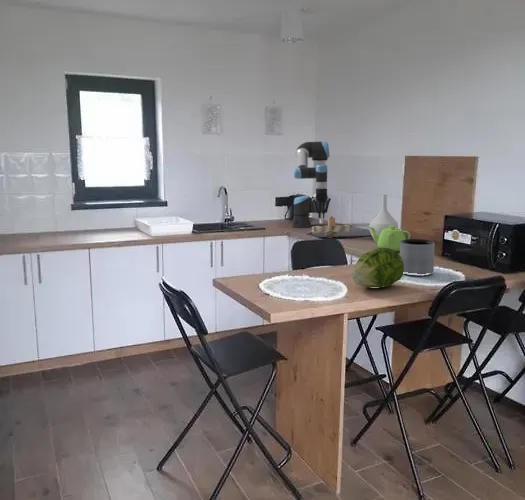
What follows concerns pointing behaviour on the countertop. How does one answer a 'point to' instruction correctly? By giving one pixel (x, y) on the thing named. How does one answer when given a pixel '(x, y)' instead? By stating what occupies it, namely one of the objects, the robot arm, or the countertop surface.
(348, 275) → the countertop surface
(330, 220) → the block
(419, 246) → the planter
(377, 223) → the vase
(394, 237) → the teapot
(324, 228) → the beam
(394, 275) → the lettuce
